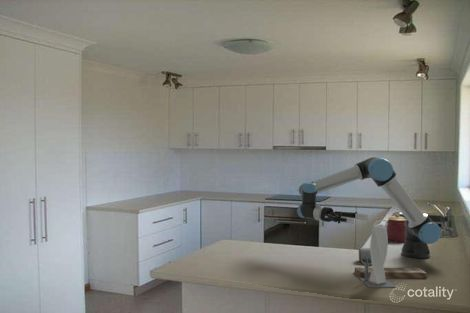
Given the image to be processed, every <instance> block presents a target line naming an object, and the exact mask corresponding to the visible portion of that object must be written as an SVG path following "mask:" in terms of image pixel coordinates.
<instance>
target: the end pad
mask: <svg viewBox="0 0 470 313" xmlns="http://www.w3.org/2000/svg"><path fill="white" fill-rule="evenodd" d="M358 278H359V280H360V281H361V282H362V283H363V284H364V285H366V286H367V288H396V286H395V285H394V284H393V283H392V282H391V281H389V280H388V279H386V284H380V285H372V284H370V283H367V282H365V281H363V280H364V279H365V278H360V277H358ZM368 279H369V278H368Z"/></svg>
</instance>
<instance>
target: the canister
mask: <svg viewBox="0 0 470 313" xmlns="http://www.w3.org/2000/svg"><path fill="white" fill-rule="evenodd" d="M387 219H388V220H386V221H387V224H386V229H387V237H388V242H393V243H404V242H405V232H406V218H405V216H401V215H400V214H399V213H395V215H391V216H389V217H387Z"/></svg>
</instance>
